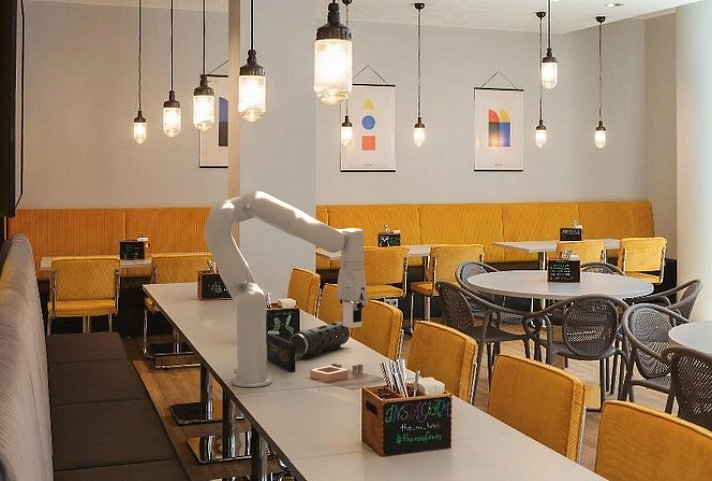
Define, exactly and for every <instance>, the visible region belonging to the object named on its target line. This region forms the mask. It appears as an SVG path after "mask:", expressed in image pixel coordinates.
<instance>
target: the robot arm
mask: <svg viewBox="0 0 712 481" xmlns="http://www.w3.org/2000/svg"><path fill="white" fill-rule="evenodd" d="M253 218H255V219H258V220H259V221H261V222H263V223H265V224H268V225H269V226H272V227H273V228H276V229H278V230H280V231H282V232H284V233H285V234H288V235H290V236H293V237H296V238H299V239H301V240H303V241H306V242H308V243H310V244H312V245H313V246H315V247H318V248H320V249H322V250H323V251H326V252H328V253H332V254H333V253H338V252H340V269H339V271H338V277H337V285H336V286H337V288H336V298H337V300H338V301H339V303H340V305H341V308H342V309H343V302H348V301H354V308H355V310H353V322H361V321H362V322H363V320H362V319H363V318H362V317H363V310H364V307H365V305H367V304H368V302H369V299H368V298H367V280H366V273H365V272H366V271H365V265H364V264H365V256H364V253H365V233H364V231H363V229H360V228H344V229H342V228H341V229H339V228H334V227H332V226H329V225H328V224H327V223H324V222H322V221H319V220H318V219H315V218H314V217H312V216H310V215H309V214H307V213H305V212H304V211H302V210H300V209H298V208H296V207H294V206H292V205H290V204H288V203H286V202H284V201H281V199H280V200H279V199H277V198H276V197H273V196H272V195H270V194H268V193H266V192H264V191H260V190H254V191H250V192H247V193H243V194H240V195H237V196H235V197H234V196H233V197H230V198H226V199H224V200H219V201H217V202H216V203H214V204H213V205H212V206H211V208H210V210H209V216H208V217H207V219H206V222H205V224H204V225H205V226H204V240H205V243H206V247H207V248H208V250H209V252H210V254H211V257H212V258H213V261H214V263H215V265H216V266H217V269H218V274H219V276H220V278H221V281H222V282H223V284H224V286H225V288H226V290H227V292H228V294H229V295H230V298H231V299H232V301H233V303H234V304H235V307H236V325H235V326H236V368H234V369H233V370H232V373H233V374H236V377H235V378H234V379H233V380H232V385H234V386H236V387H239V388H240V387H241V388H257V387H264V386H268V385H270V384H272V382H273V378H272V377H271V376H268V361H267V314H268V313H267V311H268V310H267V308H268V306H267V304H268V303H267V297H266V295H265V293H264V292H263V290H262V289H261V288H260V287H259V285H258V283H257V281H256V279H255V278H254V276H253V274H252V272H251V269H250V267H249V264H248V262H247V261H246V260H245V258H244V256H243V255H242V253H241V251H240V249H239V247H238V246H237V242H236V241H235V238H234V237H233V227H234V226H235V224H238V223H241V222H244V221H249V220H251V219H253ZM357 302H359V304H357Z"/></svg>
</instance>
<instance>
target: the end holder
mask: <svg viewBox="0 0 712 481" xmlns="http://www.w3.org/2000/svg"><path fill="white" fill-rule="evenodd" d="M348 370H349V369H348ZM348 370H347V368H338V367H334V366H332V365H328V366H327V365H326V366H321V367H318V368H317V367H316V368H313V369H310V370H309V377H311V378H315V379H319V380H323V381H327V382H330V381H334V380H338V379H343V378H347V377H348Z"/></svg>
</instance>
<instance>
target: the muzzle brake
mask: <svg viewBox="0 0 712 481" xmlns="http://www.w3.org/2000/svg"><path fill="white" fill-rule="evenodd" d="M349 339H350V330H349V327H345V326H343V321H335V322H331V323H328V324H324V325H321V326H317V327H314V328H310V329H303V330H299V331H295V332H294V333H293V334H292V336H291V337H289V340H288V341H291V342H293V343H294V344H295V357H300V358H305V357H306V358H311V357H314V356H315V354H317V353H325V352H329V351H331V350H335V349H337V348H341V346H342V345H344V344H346V343H347V342H348V341H349Z"/></svg>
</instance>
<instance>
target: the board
mask: <svg viewBox="0 0 712 481" xmlns="http://www.w3.org/2000/svg"><path fill="white" fill-rule="evenodd" d="M342 365H343V364H341V363H336V362H332V363H331V366H334V367H338V368H342ZM346 369H347V368H346ZM363 369H364V366H363V363H358V364H354V365H352V368H351V369H347V370H348V377H347V378H343V379H338V380H334V381H330V382H327V381H323V380H319V379H315V378H311V377H310V376H306V377H304V378H305V379H308V380H312V381H316V382H319V383H323V384H326V385H330V386H331V385H332V386H335V387H339V388H343V389H346V390H351V391H354V390H359V389H362V388H361V387H363V388H365V387H364V386H367V387H370V386H374V385H379V384H383V383H386V382H385V381H384V378H385V377H383V376H382V377H381V376H377V375H373V374H368V373H364V370H363Z"/></svg>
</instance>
